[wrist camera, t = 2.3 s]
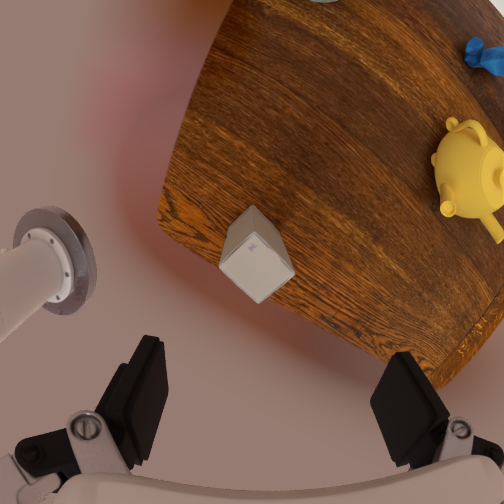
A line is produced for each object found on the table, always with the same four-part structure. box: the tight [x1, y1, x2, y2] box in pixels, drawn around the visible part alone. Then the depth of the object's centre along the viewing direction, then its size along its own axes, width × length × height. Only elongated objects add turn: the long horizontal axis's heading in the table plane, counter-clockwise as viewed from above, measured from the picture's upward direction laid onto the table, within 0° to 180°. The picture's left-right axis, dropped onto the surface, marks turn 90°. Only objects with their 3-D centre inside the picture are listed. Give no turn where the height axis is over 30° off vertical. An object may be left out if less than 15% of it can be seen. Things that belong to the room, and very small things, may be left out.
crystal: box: [464, 37, 504, 76], centre depth 21 cm, size 7×9×12 cm
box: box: [219, 205, 295, 303], centre depth 28 cm, size 5×4×13 cm
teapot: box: [431, 117, 504, 244], centre depth 26 cm, size 14×14×11 cm
